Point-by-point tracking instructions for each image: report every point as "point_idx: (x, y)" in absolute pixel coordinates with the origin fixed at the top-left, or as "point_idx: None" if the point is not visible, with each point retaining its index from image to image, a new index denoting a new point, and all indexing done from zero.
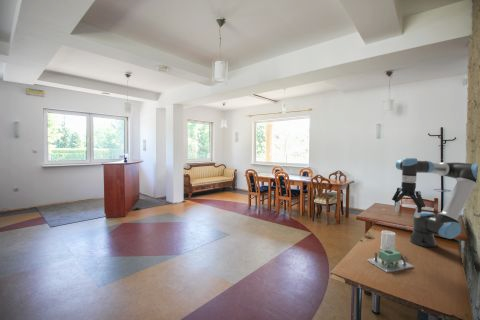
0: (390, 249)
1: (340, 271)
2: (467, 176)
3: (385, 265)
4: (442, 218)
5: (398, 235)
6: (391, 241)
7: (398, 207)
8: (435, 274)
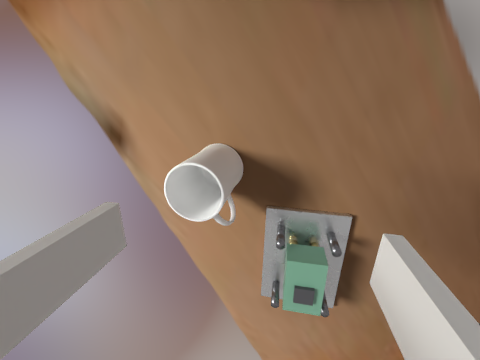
0: (289, 269)
1: None
2: None
3: None
4: None
5: None
6: (230, 192)
7: (75, 249)
8: (417, 194)
